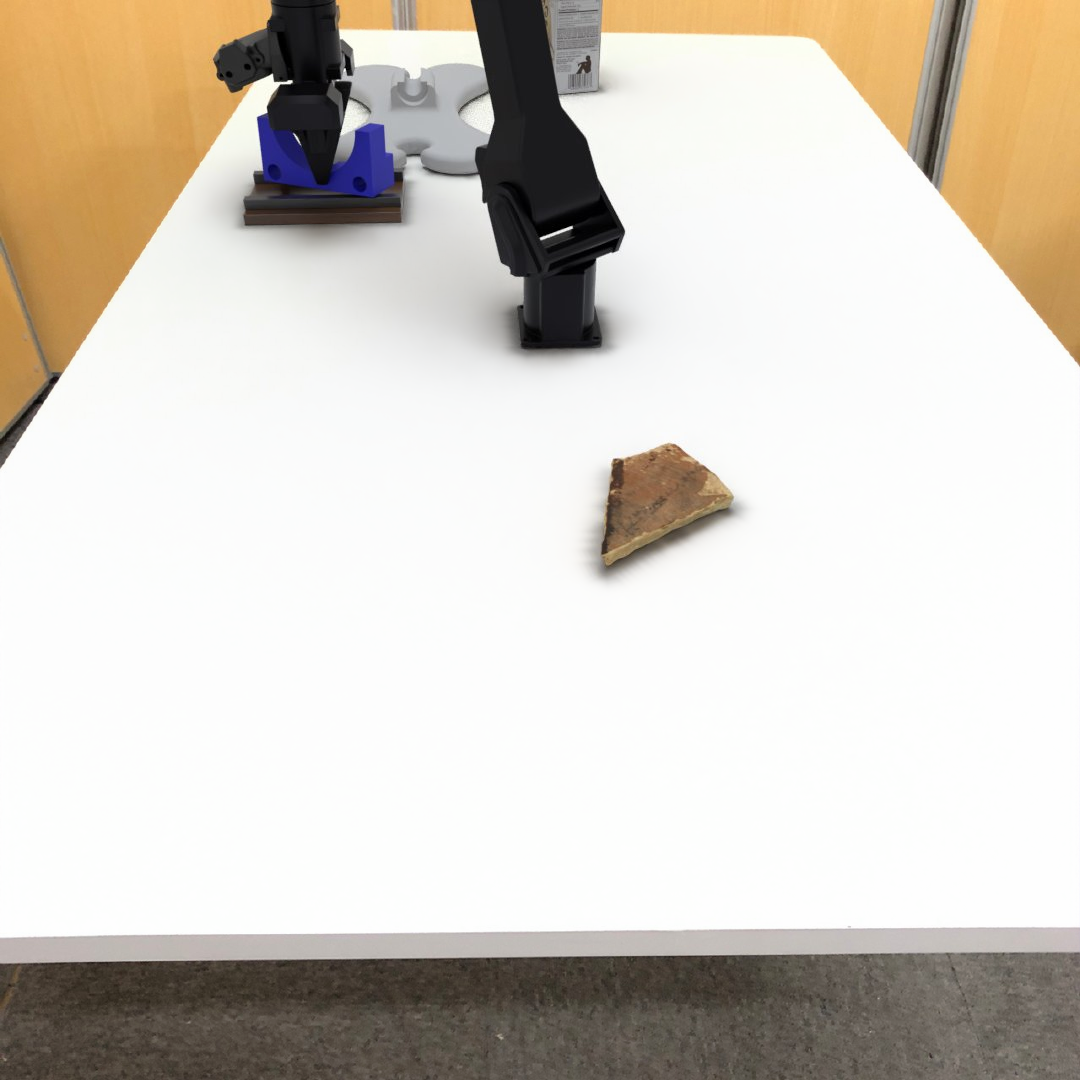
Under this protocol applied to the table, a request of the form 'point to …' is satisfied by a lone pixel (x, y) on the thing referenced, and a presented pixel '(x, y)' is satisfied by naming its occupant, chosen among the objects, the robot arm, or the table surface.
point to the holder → (420, 114)
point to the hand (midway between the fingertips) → (325, 173)
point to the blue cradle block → (356, 176)
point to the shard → (657, 498)
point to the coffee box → (574, 43)
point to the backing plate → (320, 204)
